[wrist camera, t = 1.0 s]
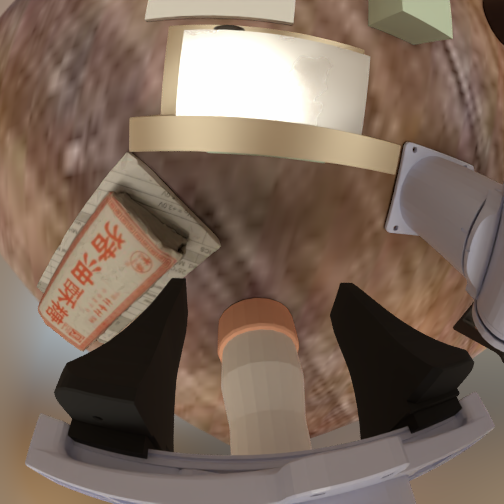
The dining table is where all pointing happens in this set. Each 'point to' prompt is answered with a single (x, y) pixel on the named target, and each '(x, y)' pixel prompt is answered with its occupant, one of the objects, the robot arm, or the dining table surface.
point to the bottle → (495, 16)
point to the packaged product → (120, 255)
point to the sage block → (412, 19)
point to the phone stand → (473, 331)
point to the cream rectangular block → (271, 78)
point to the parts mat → (222, 10)
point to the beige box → (252, 125)
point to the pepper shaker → (262, 378)
